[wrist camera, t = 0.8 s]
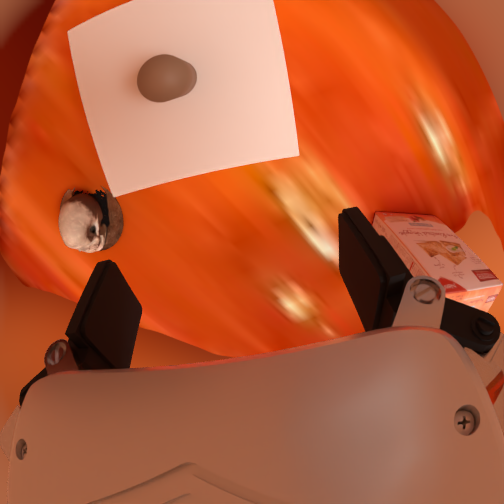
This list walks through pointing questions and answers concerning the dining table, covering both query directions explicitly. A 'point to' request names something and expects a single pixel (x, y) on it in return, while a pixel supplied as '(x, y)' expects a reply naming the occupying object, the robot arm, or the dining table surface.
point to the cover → (183, 88)
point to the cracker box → (439, 257)
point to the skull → (90, 220)
